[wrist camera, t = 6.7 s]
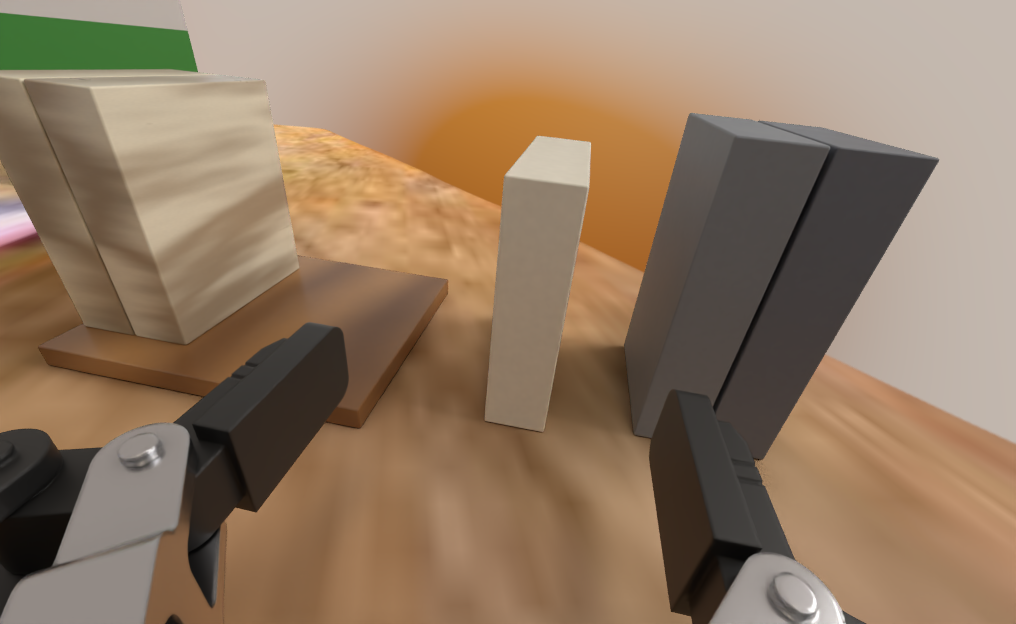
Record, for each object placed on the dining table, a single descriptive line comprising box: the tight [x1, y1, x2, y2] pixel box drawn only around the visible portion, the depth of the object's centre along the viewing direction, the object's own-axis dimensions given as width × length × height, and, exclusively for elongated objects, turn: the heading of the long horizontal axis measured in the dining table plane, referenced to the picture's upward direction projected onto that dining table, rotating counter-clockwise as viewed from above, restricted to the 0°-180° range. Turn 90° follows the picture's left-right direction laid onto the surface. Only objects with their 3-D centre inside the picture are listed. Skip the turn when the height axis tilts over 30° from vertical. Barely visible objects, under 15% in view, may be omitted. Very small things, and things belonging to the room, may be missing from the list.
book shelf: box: [0, 69, 448, 428], centre depth 23 cm, size 17×14×13 cm
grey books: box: [624, 113, 939, 460], centre depth 21 cm, size 6×8×14 cm
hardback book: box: [0, 0, 198, 72], centre depth 45 cm, size 18×7×24 cm, turn 135°
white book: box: [484, 136, 591, 432], centre depth 22 cm, size 3×10×12 cm, turn 170°
